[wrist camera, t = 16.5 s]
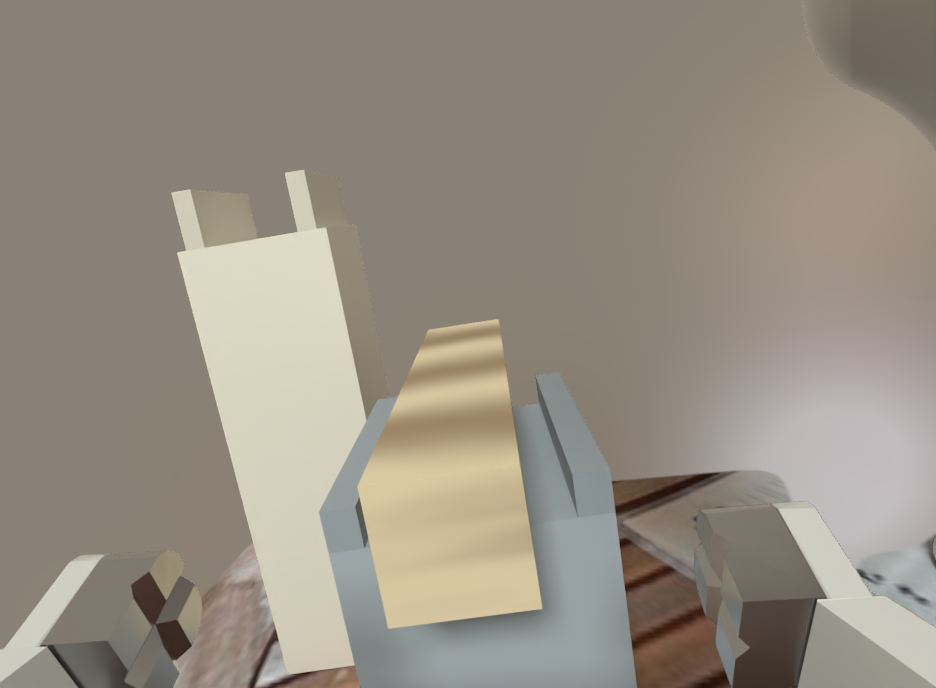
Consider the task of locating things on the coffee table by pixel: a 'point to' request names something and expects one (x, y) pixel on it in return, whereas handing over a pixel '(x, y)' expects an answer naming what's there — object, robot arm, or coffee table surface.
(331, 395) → the bracket post
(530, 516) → the grey slotted block
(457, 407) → the rail
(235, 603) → the coffee table surface
